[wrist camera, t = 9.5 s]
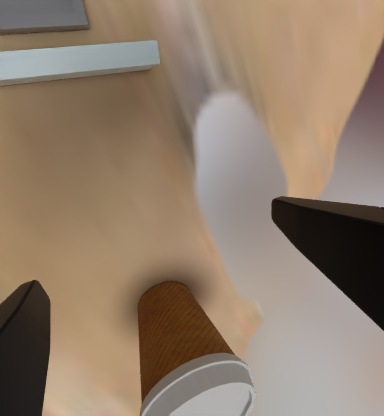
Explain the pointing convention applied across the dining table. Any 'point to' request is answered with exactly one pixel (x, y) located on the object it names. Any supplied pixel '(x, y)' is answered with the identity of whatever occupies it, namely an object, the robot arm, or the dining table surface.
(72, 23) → the dish
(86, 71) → the wall
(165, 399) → the disposable coffee cup
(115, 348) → the dining table surface
